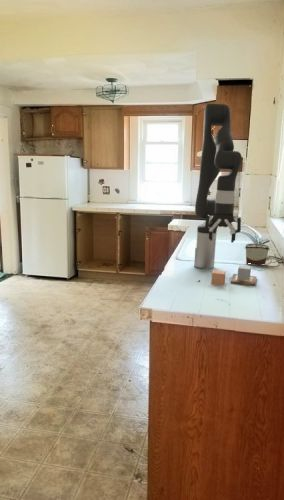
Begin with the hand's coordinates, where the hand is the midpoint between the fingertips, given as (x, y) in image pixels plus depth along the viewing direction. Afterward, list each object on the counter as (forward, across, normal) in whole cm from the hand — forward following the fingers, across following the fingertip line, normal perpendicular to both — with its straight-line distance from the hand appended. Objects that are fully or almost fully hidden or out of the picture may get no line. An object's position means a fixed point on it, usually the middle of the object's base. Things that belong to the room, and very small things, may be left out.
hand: (221, 241), depth 155 cm
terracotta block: (+18, 0, 0) cm, 18 cm away
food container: (+18, +13, +43) cm, 48 cm away
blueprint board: (+18, +10, +8) cm, 22 cm away
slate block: (+17, +10, +8) cm, 21 cm away
